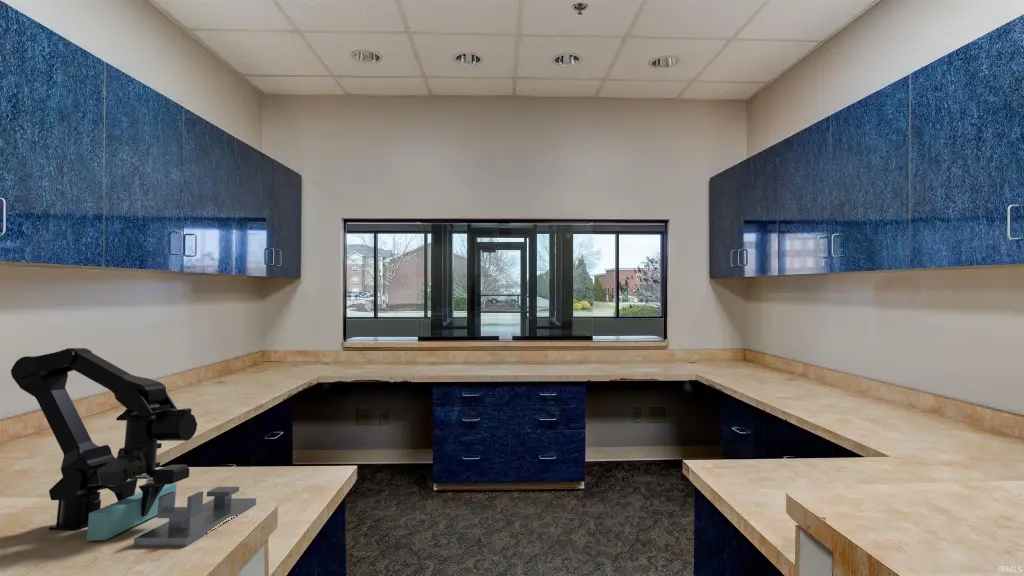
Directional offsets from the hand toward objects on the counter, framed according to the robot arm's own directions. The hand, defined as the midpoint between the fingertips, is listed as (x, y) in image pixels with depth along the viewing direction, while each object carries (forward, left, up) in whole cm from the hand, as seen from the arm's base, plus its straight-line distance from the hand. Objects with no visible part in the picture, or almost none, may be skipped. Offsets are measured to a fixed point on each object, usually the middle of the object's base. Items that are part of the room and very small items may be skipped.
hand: (135, 516), depth 103 cm
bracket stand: (+14, 0, -2) cm, 15 cm away
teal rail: (0, 0, -1) cm, 1 cm away
